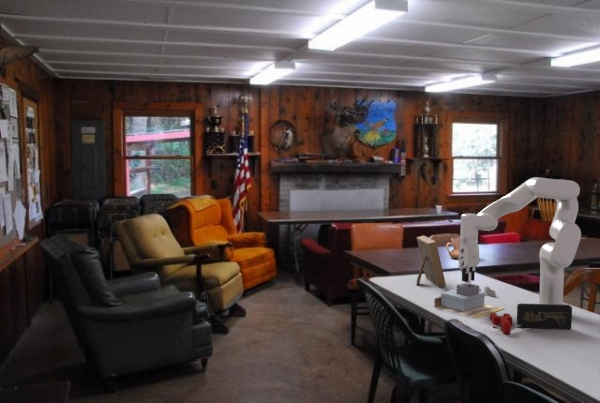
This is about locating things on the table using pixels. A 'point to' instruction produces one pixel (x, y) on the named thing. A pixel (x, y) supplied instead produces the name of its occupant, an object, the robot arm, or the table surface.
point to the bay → (473, 312)
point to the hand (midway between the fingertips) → (468, 280)
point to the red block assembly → (502, 322)
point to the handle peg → (469, 281)
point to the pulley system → (489, 292)
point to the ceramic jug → (456, 245)
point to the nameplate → (544, 316)
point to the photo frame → (430, 261)
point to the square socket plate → (463, 298)
